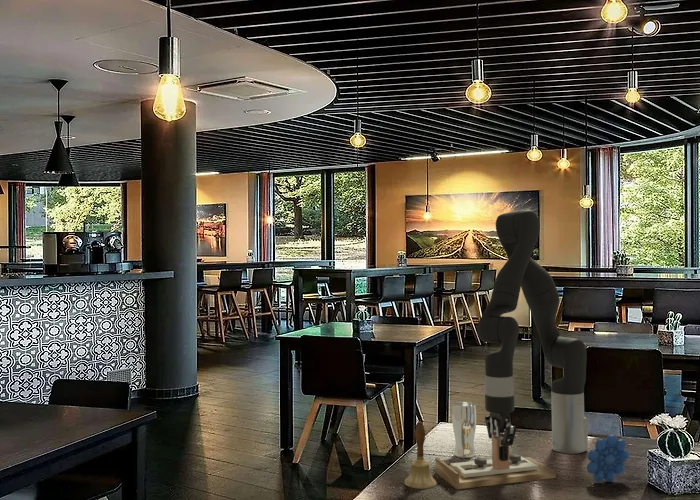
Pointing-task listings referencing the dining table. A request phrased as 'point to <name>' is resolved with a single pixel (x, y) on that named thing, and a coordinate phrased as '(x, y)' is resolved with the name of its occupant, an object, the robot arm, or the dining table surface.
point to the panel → (489, 468)
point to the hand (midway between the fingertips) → (500, 458)
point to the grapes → (607, 458)
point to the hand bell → (420, 464)
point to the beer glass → (464, 428)
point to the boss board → (495, 479)
